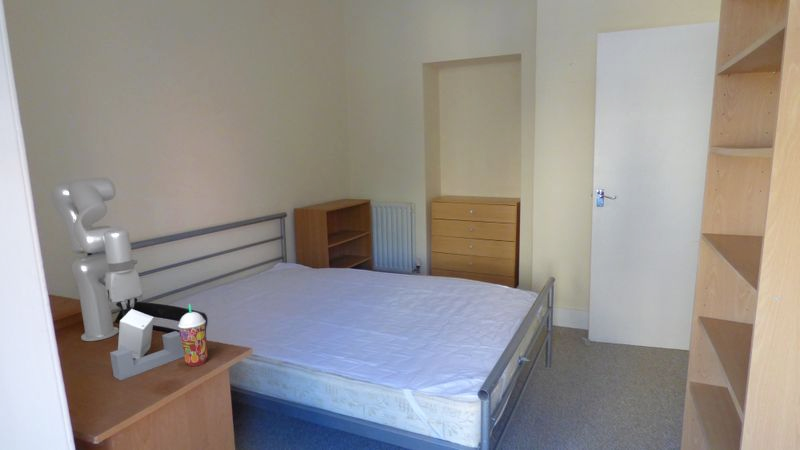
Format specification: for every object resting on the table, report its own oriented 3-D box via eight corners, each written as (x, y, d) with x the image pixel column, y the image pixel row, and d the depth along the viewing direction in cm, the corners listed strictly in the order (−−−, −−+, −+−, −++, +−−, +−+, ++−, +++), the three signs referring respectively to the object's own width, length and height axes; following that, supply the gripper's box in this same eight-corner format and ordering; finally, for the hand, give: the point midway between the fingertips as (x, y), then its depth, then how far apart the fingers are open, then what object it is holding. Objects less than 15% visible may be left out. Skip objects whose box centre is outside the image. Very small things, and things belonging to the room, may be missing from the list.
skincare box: (150, 348, 176) (155, 317, 168) (139, 361, 170) (144, 330, 162) (127, 339, 175) (132, 307, 168) (115, 352, 170) (119, 320, 162)
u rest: (113, 376, 159) (110, 352, 158) (178, 353, 175) (175, 331, 174) (120, 380, 156) (116, 356, 155) (185, 356, 172) (182, 333, 171)
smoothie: (177, 365, 165) (169, 307, 161) (198, 355, 172) (191, 299, 169) (195, 370, 161) (187, 309, 157) (215, 359, 168) (208, 301, 165)
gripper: (138, 260, 176) (146, 311, 179) (92, 270, 165) (100, 324, 168) (148, 262, 171) (156, 314, 174) (101, 273, 160) (109, 328, 163)
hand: (128, 319), depth 171 cm, fingers closed
